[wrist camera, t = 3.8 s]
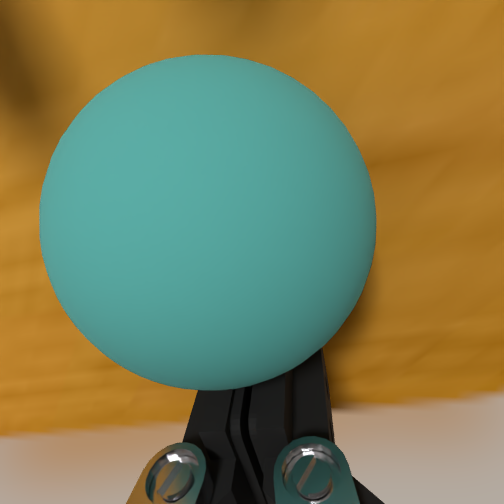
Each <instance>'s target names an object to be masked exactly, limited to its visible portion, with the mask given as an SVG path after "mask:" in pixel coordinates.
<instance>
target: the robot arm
mask: <svg viewBox="0 0 504 504" xmlns="http://www.w3.org/2000/svg"><path fill="white" fill-rule="evenodd" d="M126 504H384V503H383V502H382V501H381V500H380V499H379V498H377V497H376V496H375V495H374V494H373V493H372V492H370V491H369V490H368V489H367V488H366V487H365V486H363V485H362V484H361V483H360V482H358V480H356V479H355V478H354V477H353V476H352V475H351V471H350V468H349V465H348V462H347V460H346V458H345V456H344V454H343V452H342V451H341V450H340V449H339V448H338V447H337V446H336V445H335V442H334V431H333V422H332V412H331V403H330V394H329V386H328V379H327V372H326V366H325V361H324V355H323V350H322V347H321V348H320V349H319V350H318V351H316V352H315V353H314V354H313V355H311V356H310V357H309V358H308V359H306V360H305V361H304V362H302V363H301V364H299V365H298V366H296V367H294V368H293V369H291V370H289V371H287V372H285V373H283V374H281V375H279V376H276V377H274V378H272V379H269V380H266V381H263V382H260V383H257V384H254V385H251V386H246V387H242V388H237V389H229V390H198V392H197V395H196V399H195V402H194V405H193V409H192V412H191V415H190V419H189V422H188V425H187V429H186V432H185V435H184V439H183V442H182V443H175V444H173V445H169V446H167V447H166V448H164V449H162V450H161V451H159V452H158V453H157V454H156V455H155V456H154V457H153V458H152V459H151V460H150V461H149V462H148V464H147V465H146V467H145V469H144V470H143V471H142V473H141V475H140V477H139V479H138V481H137V483H136V485H135V487H134V489H133V491H132V493H131V495H130V497H129V499H128V501H127V503H126Z"/></svg>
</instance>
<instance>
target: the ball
mask: <svg viewBox="0 0 504 504" xmlns="http://www.w3.org/2000/svg"><path fill="white" fill-rule="evenodd" d="M375 241H376V209H375V200H374V192H373V188H372V184H371V180H370V176H369V173H368V170H367V168H366V165H365V163H364V160H363V158H362V156H361V153H360V151H359V149H358V147H357V145H356V143H355V142H354V140H353V138H352V137H351V135H350V133H349V132H348V130H347V128H346V127H345V125H344V124H343V123H342V122H341V120H340V119H339V118H338V117H337V115H336V114H335V113H334V112H333V110H332V109H331V108H330V107H329V106H328V105H327V104H326V103H325V102H323V101H322V100H321V99H320V98H319V97H318V96H317V95H316V94H315V93H314V92H313V91H311V90H310V89H308V88H307V87H305V86H304V85H302V84H301V83H300V82H298V81H297V80H295V79H294V78H292V77H290V76H288V75H286V74H284V73H282V72H280V71H278V70H276V69H274V68H272V67H270V66H266V65H263V64H260V63H257V62H254V61H251V60H248V59H243V58H237V57H231V56H225V55H190V56H183V57H176V58H169V59H165V60H162V61H159V62H156V63H152V64H149V65H146V66H143V67H141V68H139V69H137V70H135V71H133V72H131V73H129V74H127V75H125V76H123V77H122V78H120V79H118V80H117V81H115V82H114V83H112V84H111V85H110V86H108V87H107V88H105V89H104V90H103V91H101V92H100V93H98V94H97V95H96V96H95V97H94V98H93V99H92V100H91V101H90V102H89V103H88V104H87V105H86V106H85V107H84V108H83V109H82V110H81V111H80V112H79V114H78V115H77V116H76V118H75V119H74V120H73V122H72V123H71V125H70V126H69V127H68V129H67V130H66V131H65V133H64V134H63V136H62V137H61V139H60V141H59V143H58V145H57V147H56V149H55V151H54V153H53V155H52V158H51V161H50V164H49V167H48V170H47V174H46V177H45V180H44V183H43V186H42V193H41V200H40V243H41V250H42V256H43V259H44V263H45V267H46V270H47V273H48V276H49V279H50V281H51V284H52V286H53V289H54V291H55V293H56V296H57V298H58V300H59V302H60V303H61V305H62V307H63V309H64V310H65V312H66V314H67V315H68V316H69V318H70V319H71V320H72V322H73V323H74V325H75V326H76V327H77V328H78V329H79V330H80V332H81V333H82V334H83V335H84V336H85V337H86V338H87V339H88V340H89V341H90V342H91V343H92V344H93V345H94V346H95V347H97V348H98V349H99V350H100V351H101V352H102V353H103V354H105V355H106V356H107V357H109V358H110V359H111V360H113V361H114V362H116V363H117V364H119V365H120V366H122V367H124V368H125V369H127V370H129V371H131V372H133V373H135V374H137V375H139V376H141V377H144V378H146V379H149V380H151V381H154V382H157V383H161V384H164V385H168V386H172V387H178V388H183V389H193V390H229V389H237V388H242V387H246V386H251V385H254V384H257V383H260V382H263V381H266V380H269V379H272V378H274V377H276V376H279V375H281V374H283V373H285V372H287V371H289V370H291V369H293V368H294V367H296V366H298V365H299V364H301V363H302V362H304V361H305V360H306V359H308V358H309V357H310V356H311V355H313V354H314V353H315V352H316V351H318V350H319V349H320V348H321V347H323V346H324V345H325V344H326V343H327V342H328V341H329V340H330V339H331V338H332V337H333V336H334V335H335V334H336V332H337V331H338V330H339V328H340V327H341V326H342V324H343V323H344V321H345V320H346V319H347V317H348V316H349V314H350V313H351V311H352V310H353V309H354V307H355V305H356V303H357V301H358V299H359V297H360V295H361V293H362V291H363V288H364V285H365V282H366V279H367V277H368V274H369V271H370V268H371V264H372V259H373V254H374V249H375Z"/></svg>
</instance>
